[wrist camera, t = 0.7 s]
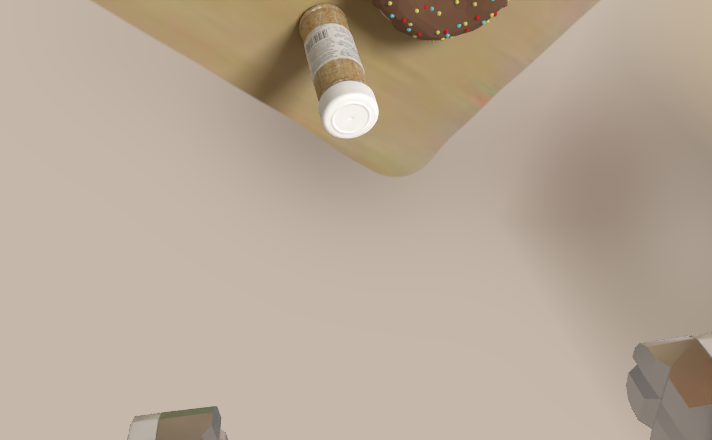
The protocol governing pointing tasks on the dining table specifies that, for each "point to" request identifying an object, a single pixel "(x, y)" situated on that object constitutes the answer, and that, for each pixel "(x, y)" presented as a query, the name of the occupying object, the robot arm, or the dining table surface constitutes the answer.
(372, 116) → the sprinkles bottle
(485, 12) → the donut
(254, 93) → the dining table surface
